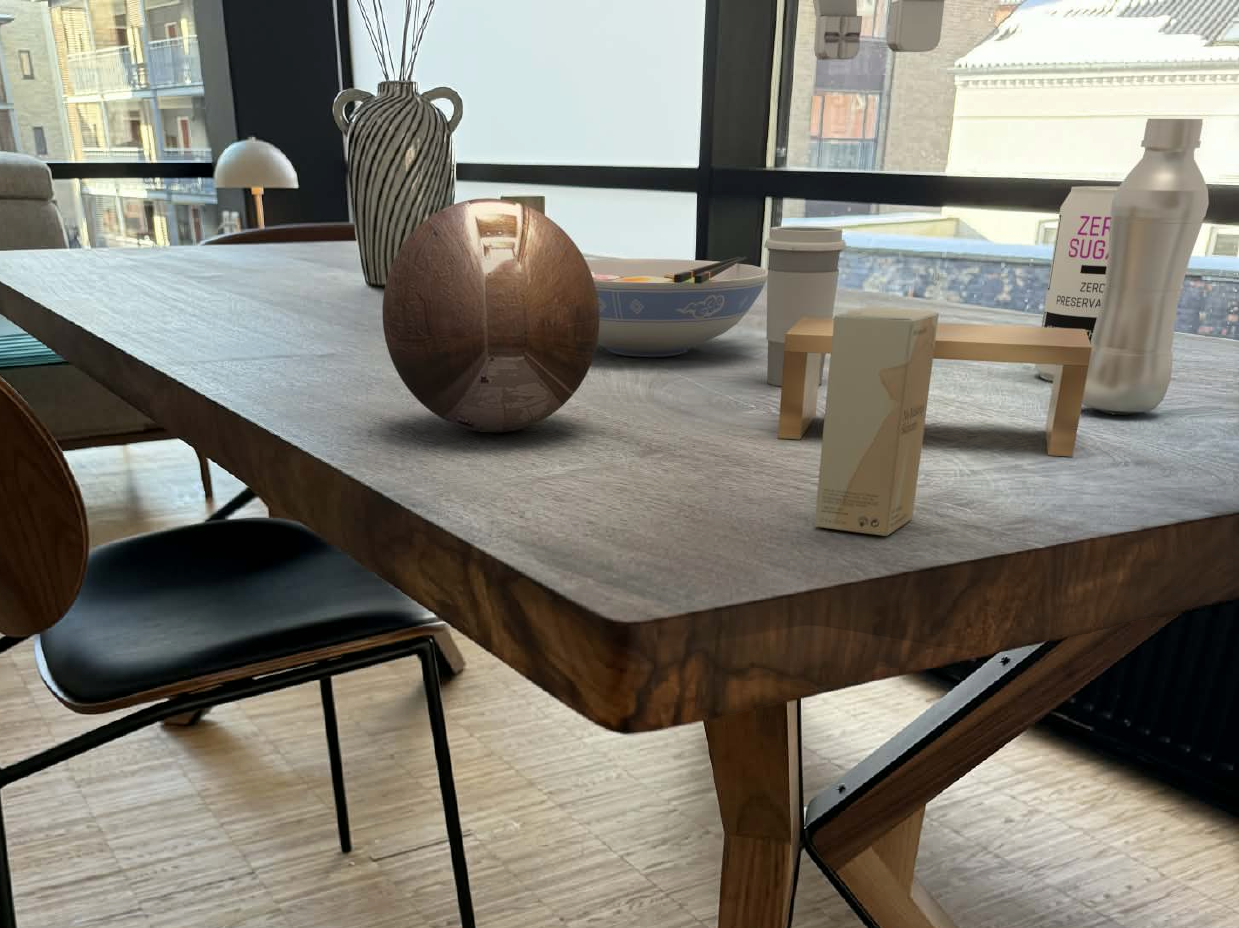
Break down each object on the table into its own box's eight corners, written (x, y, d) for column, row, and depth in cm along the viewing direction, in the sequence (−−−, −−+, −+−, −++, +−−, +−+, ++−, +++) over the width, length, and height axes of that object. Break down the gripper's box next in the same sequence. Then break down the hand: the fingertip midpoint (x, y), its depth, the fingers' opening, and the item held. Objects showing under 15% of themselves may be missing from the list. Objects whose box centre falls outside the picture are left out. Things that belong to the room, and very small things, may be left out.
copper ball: (431, 461, 88) (419, 206, 81) (363, 419, 100) (346, 194, 93) (634, 441, 94) (640, 202, 87) (546, 404, 106) (545, 191, 99)
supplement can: (1107, 370, 123) (1142, 186, 115) (1146, 386, 115) (1185, 190, 108) (1020, 371, 122) (1049, 185, 115) (1053, 386, 115) (1086, 190, 108)
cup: (820, 392, 112) (834, 232, 106) (743, 385, 114) (753, 229, 108) (843, 379, 117) (857, 227, 112) (770, 373, 120) (780, 224, 114)
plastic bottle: (1073, 402, 108) (1124, 118, 99) (1162, 408, 106) (1223, 119, 97) (1070, 417, 103) (1123, 118, 93) (1164, 423, 101) (1229, 119, 91)
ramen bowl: (576, 329, 144) (576, 245, 140) (788, 340, 138) (794, 252, 134) (489, 364, 123) (487, 267, 119) (734, 379, 117) (740, 277, 113)
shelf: (1067, 431, 99) (1085, 328, 95) (1072, 456, 91) (1092, 346, 88) (794, 415, 103) (802, 317, 100) (777, 438, 96) (785, 333, 92)
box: (886, 539, 73) (912, 319, 67) (810, 528, 75) (830, 313, 69) (915, 517, 77) (941, 308, 71) (843, 508, 79) (863, 303, 73)
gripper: (1114, -433, 46) (1045, 46, 52) (888, -280, 63) (858, 64, 70) (938, -445, 45) (891, 44, 51) (759, -287, 62) (741, 63, 69)
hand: (871, 56), depth 61 cm, fingers open, 8 cm apart
